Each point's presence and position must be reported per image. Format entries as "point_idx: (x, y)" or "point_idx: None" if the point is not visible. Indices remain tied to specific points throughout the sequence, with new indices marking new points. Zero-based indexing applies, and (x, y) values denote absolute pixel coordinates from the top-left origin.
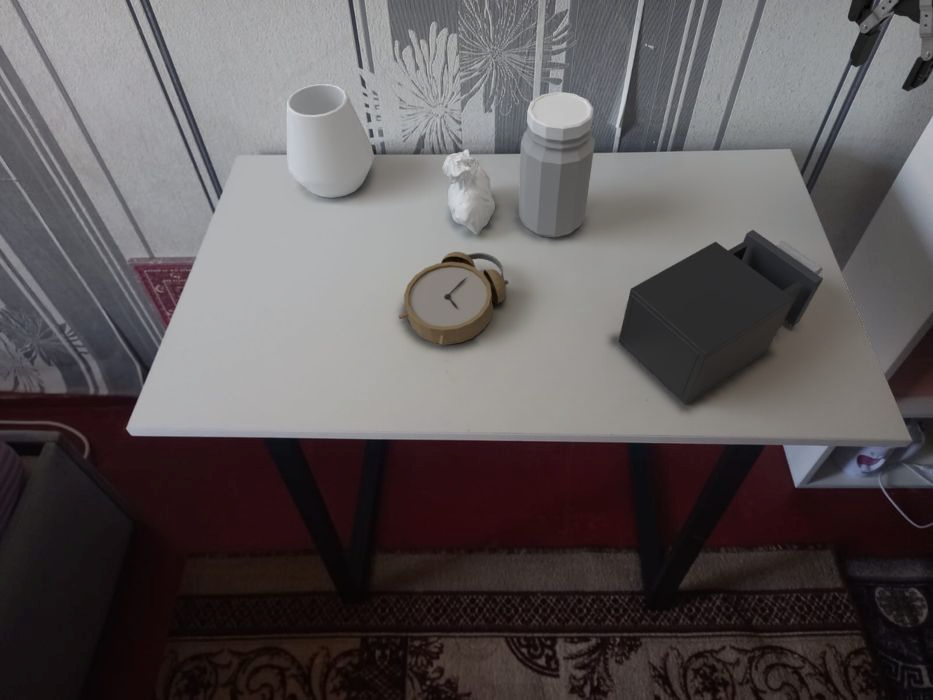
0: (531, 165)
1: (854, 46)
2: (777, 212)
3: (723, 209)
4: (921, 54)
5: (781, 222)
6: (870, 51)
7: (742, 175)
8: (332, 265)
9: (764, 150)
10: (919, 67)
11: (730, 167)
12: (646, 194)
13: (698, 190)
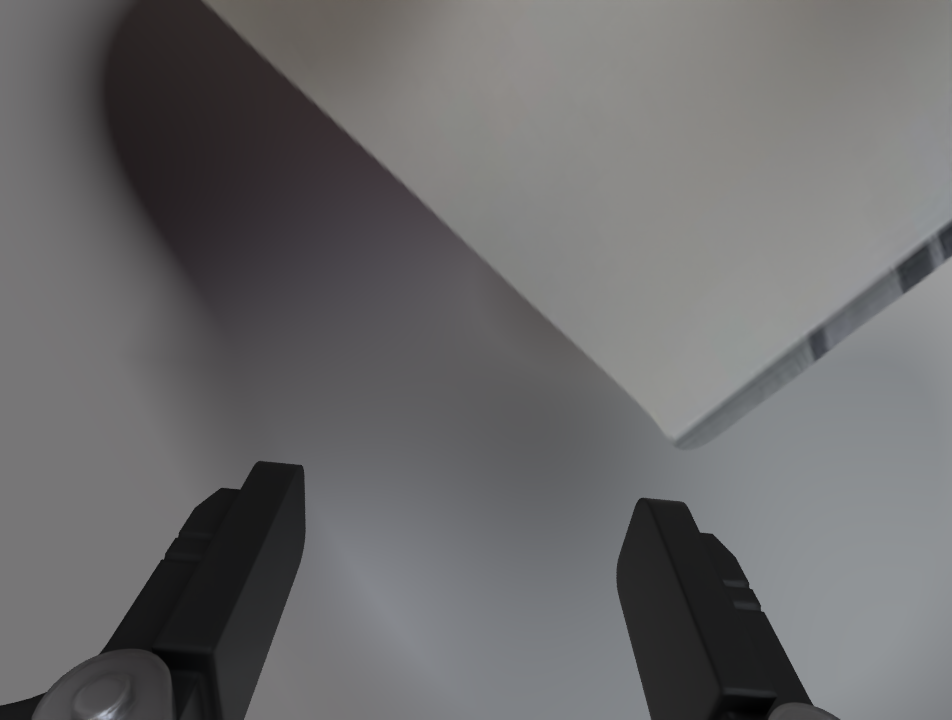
0: None
1: (750, 600)
2: (569, 232)
3: (686, 133)
4: (160, 688)
5: (541, 205)
6: (633, 629)
7: (710, 294)
8: None
9: (710, 409)
10: (185, 591)
11: (751, 299)
12: (918, 6)
13: (783, 152)
